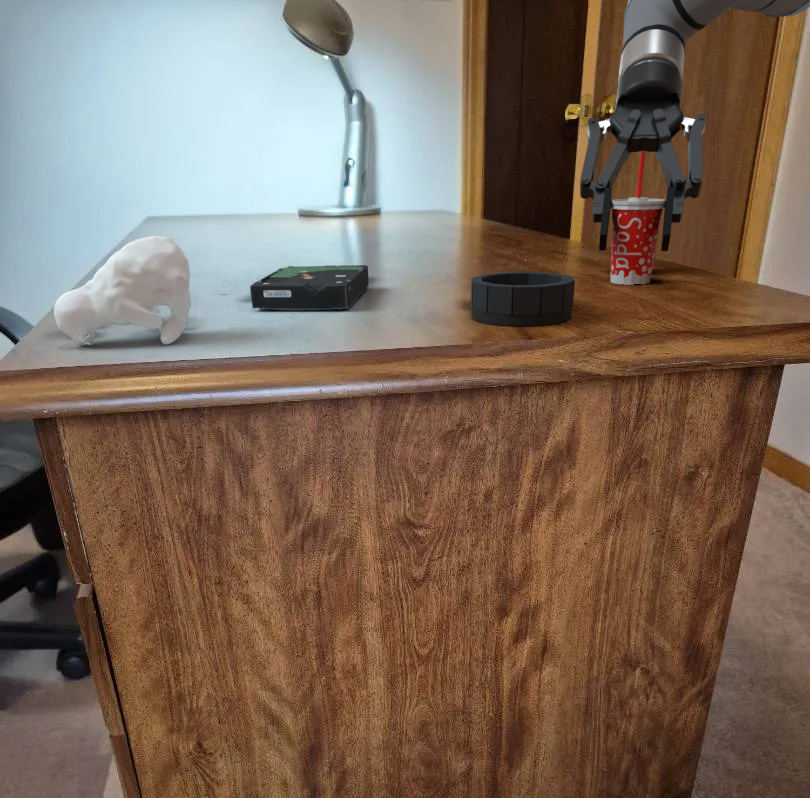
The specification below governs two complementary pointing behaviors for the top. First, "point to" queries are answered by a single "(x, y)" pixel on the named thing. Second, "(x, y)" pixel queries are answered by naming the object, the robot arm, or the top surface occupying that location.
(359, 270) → the disk drive
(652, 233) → the beverage cup
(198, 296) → the top surface
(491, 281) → the segmented ring
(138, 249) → the white lumpy figure
